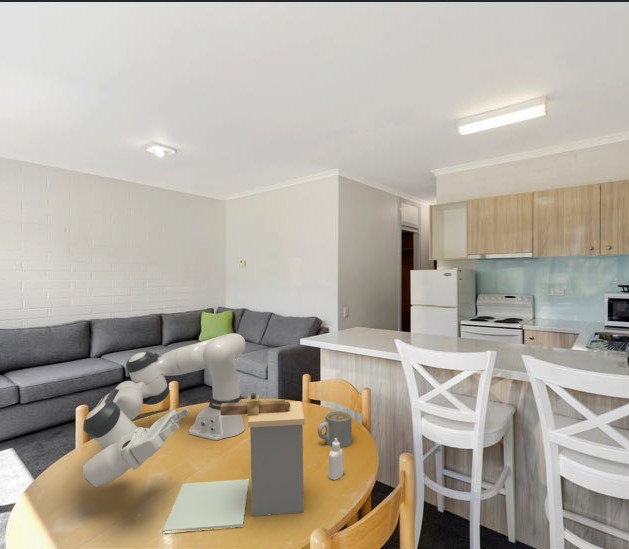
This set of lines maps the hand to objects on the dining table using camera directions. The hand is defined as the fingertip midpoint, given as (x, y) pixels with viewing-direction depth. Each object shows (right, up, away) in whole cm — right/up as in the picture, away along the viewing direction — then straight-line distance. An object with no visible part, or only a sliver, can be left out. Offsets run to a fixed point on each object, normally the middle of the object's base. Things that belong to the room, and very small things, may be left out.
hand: (182, 417), depth 104 cm
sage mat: (+8, -25, 0) cm, 26 cm away
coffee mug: (+45, -24, +36) cm, 62 cm away
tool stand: (+27, -24, +2) cm, 36 cm away
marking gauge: (+20, +1, 0) cm, 20 cm away
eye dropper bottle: (+44, -24, +14) cm, 52 cm away
